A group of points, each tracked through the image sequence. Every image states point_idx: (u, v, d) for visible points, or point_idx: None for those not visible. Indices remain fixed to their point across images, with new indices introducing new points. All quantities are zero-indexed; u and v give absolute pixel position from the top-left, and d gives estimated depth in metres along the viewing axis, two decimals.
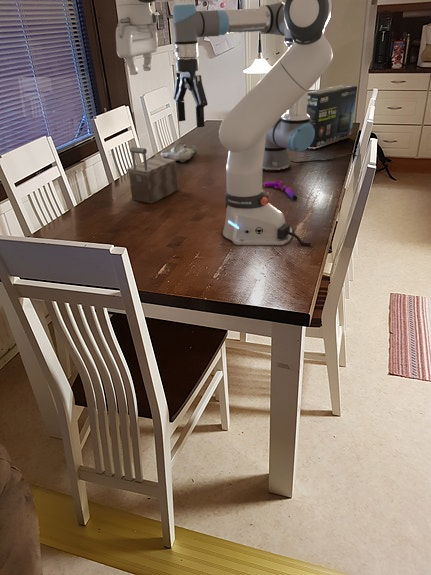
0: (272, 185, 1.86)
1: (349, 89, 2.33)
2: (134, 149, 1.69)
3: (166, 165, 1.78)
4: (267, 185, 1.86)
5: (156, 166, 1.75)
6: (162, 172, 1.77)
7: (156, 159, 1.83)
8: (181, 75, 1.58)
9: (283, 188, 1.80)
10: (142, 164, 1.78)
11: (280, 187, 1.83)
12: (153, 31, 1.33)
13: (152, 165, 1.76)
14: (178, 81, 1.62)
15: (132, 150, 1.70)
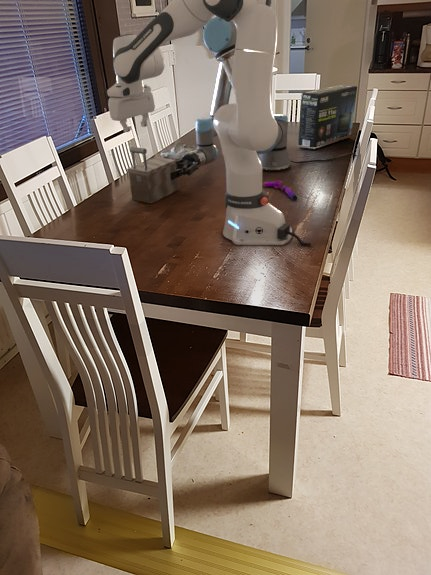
0: (272, 185, 1.86)
1: (349, 89, 2.33)
2: (134, 149, 1.69)
3: (166, 165, 1.78)
4: (267, 185, 1.86)
5: (156, 166, 1.75)
6: (162, 172, 1.77)
7: (156, 159, 1.83)
8: None
9: (283, 188, 1.80)
10: (142, 164, 1.78)
11: (280, 187, 1.83)
12: None
13: (152, 165, 1.76)
14: None
15: (132, 150, 1.70)
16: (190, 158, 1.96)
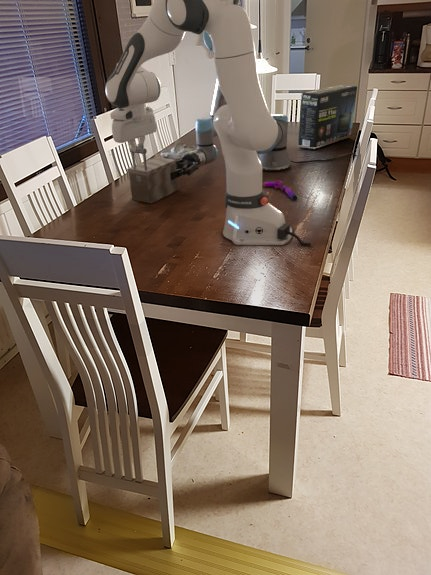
0: (272, 185, 1.86)
1: (349, 89, 2.33)
2: None
3: (166, 165, 1.78)
4: (267, 185, 1.86)
5: (156, 166, 1.75)
6: (162, 172, 1.77)
7: (156, 159, 1.83)
8: None
9: (283, 188, 1.80)
10: (142, 164, 1.78)
11: (280, 187, 1.83)
12: None
13: (152, 165, 1.76)
14: None
15: None
16: (190, 158, 1.96)
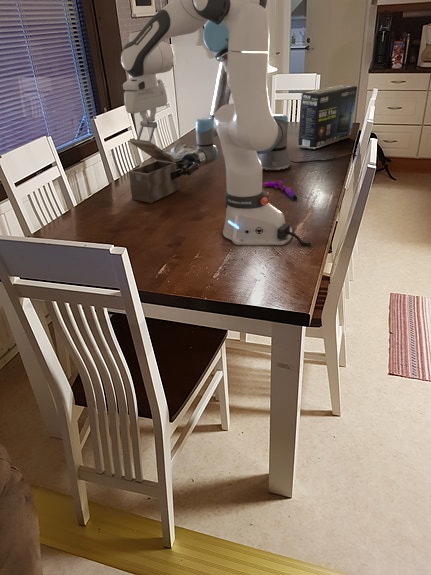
0: (272, 185, 1.86)
1: (349, 89, 2.33)
2: None
3: (167, 155, 1.77)
4: (267, 185, 1.86)
5: None
6: (162, 172, 1.77)
7: None
8: None
9: (283, 188, 1.80)
10: None
11: (280, 187, 1.83)
12: None
13: None
14: None
15: None
16: (190, 158, 1.96)
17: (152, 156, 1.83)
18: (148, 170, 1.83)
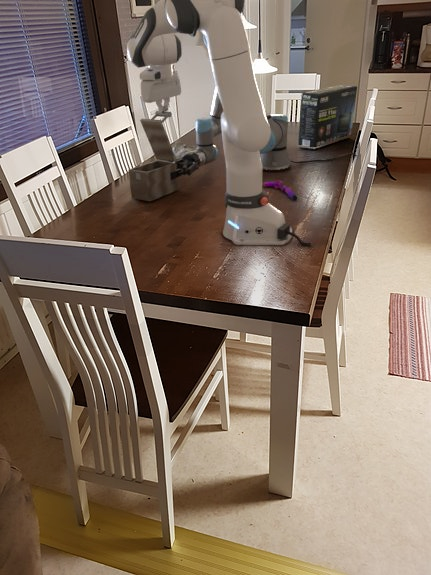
0: (272, 185, 1.86)
1: (349, 89, 2.33)
2: None
3: (170, 148, 1.78)
4: (267, 185, 1.86)
5: None
6: (162, 170, 1.77)
7: None
8: None
9: (283, 188, 1.80)
10: None
11: (280, 187, 1.83)
12: None
13: None
14: None
15: (158, 111, 1.77)
16: (190, 158, 1.96)
17: (154, 151, 1.84)
18: (148, 170, 1.83)
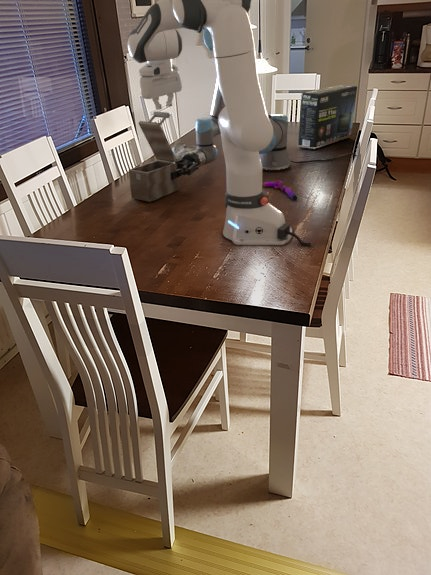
0: (272, 185, 1.86)
1: (349, 89, 2.33)
2: (159, 112, 1.75)
3: (170, 149, 1.78)
4: (267, 185, 1.86)
5: None
6: (162, 171, 1.77)
7: None
8: None
9: (283, 188, 1.80)
10: None
11: (280, 187, 1.83)
12: None
13: None
14: None
15: (156, 112, 1.76)
16: (190, 158, 1.96)
17: (154, 152, 1.83)
18: (148, 170, 1.83)
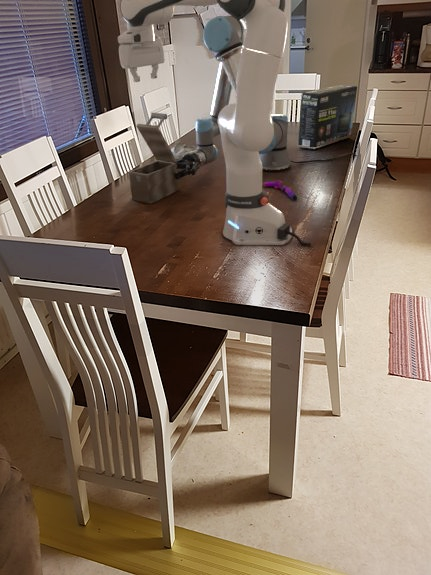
0: (272, 185, 1.86)
1: (349, 89, 2.33)
2: (156, 113, 1.74)
3: (169, 150, 1.77)
4: (267, 185, 1.86)
5: None
6: (162, 172, 1.77)
7: None
8: None
9: (283, 188, 1.80)
10: None
11: (280, 187, 1.83)
12: None
13: None
14: None
15: (154, 113, 1.74)
16: (190, 158, 1.96)
17: (153, 152, 1.83)
18: (148, 171, 1.83)
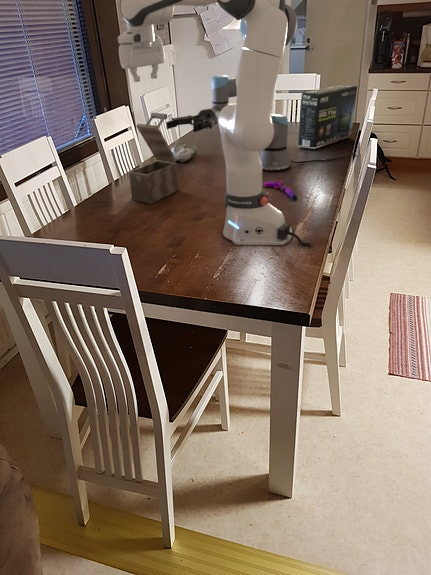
0: (272, 185, 1.86)
1: (349, 89, 2.33)
2: (156, 113, 1.74)
3: (169, 150, 1.77)
4: (267, 185, 1.86)
5: None
6: (162, 172, 1.77)
7: None
8: None
9: (283, 188, 1.80)
10: None
11: (280, 187, 1.83)
12: None
13: None
14: None
15: (154, 113, 1.74)
16: (206, 114, 1.97)
17: (153, 152, 1.83)
18: (148, 171, 1.83)
